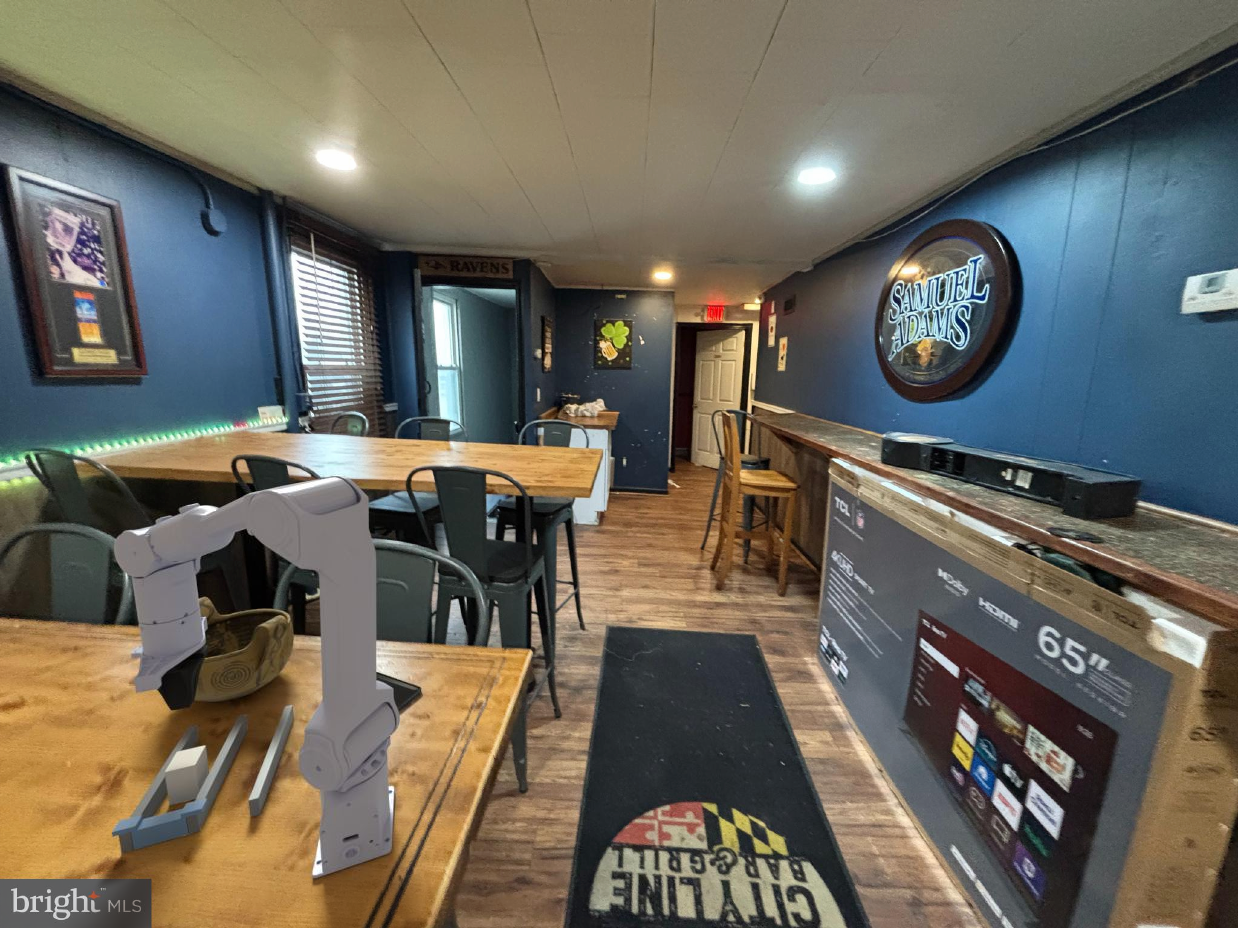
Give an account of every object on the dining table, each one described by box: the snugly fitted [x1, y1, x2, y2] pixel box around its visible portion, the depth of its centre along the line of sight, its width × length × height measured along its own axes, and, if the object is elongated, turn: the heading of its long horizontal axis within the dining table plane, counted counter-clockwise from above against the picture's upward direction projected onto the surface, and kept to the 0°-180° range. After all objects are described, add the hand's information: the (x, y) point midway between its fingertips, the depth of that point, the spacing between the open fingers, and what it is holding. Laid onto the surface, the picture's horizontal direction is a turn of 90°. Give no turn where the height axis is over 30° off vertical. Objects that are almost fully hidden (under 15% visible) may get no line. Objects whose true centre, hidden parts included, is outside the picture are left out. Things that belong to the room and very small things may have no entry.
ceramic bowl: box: [194, 596, 295, 703], centre depth 79 cm, size 22×17×15 cm
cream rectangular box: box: [165, 745, 210, 806], centre depth 60 cm, size 4×3×5 cm
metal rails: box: [111, 704, 295, 854], centre depth 63 cm, size 18×14×3 cm
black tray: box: [376, 671, 422, 713], centre depth 80 cm, size 8×1×15 cm
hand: (182, 705), depth 61 cm, fingers closed
